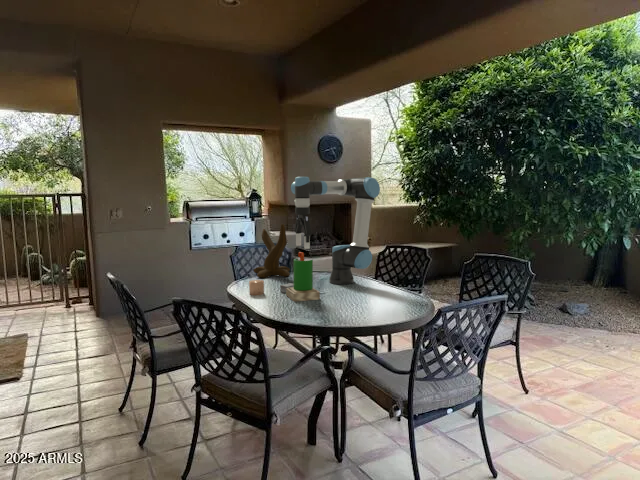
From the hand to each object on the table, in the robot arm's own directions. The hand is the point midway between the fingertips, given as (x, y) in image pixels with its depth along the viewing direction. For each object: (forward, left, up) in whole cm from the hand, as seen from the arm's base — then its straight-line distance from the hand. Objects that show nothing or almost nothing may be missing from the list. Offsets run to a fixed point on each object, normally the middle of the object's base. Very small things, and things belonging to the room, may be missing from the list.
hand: (302, 247), depth 228 cm
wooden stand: (-1, -68, -27) cm, 73 cm away
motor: (0, 0, -23) cm, 23 cm away
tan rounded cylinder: (+21, -17, -27) cm, 38 cm away
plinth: (0, 0, -27) cm, 27 cm away
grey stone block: (+3, -16, -27) cm, 32 cm away
